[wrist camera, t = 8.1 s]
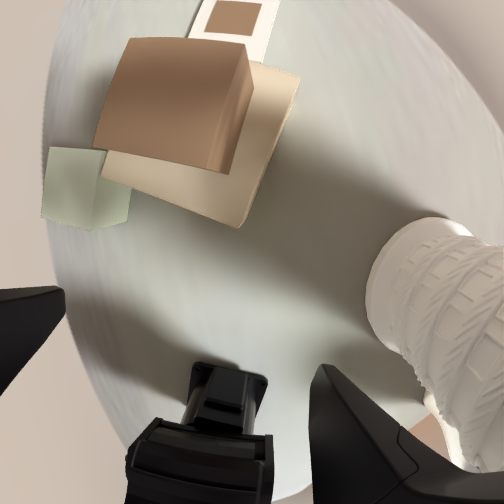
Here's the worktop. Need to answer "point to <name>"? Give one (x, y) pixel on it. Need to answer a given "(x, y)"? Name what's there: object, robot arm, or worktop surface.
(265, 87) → the birch plinth
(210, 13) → the card
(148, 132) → the walnut cube
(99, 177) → the sage cube
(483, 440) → the decorative container
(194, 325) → the worktop surface
